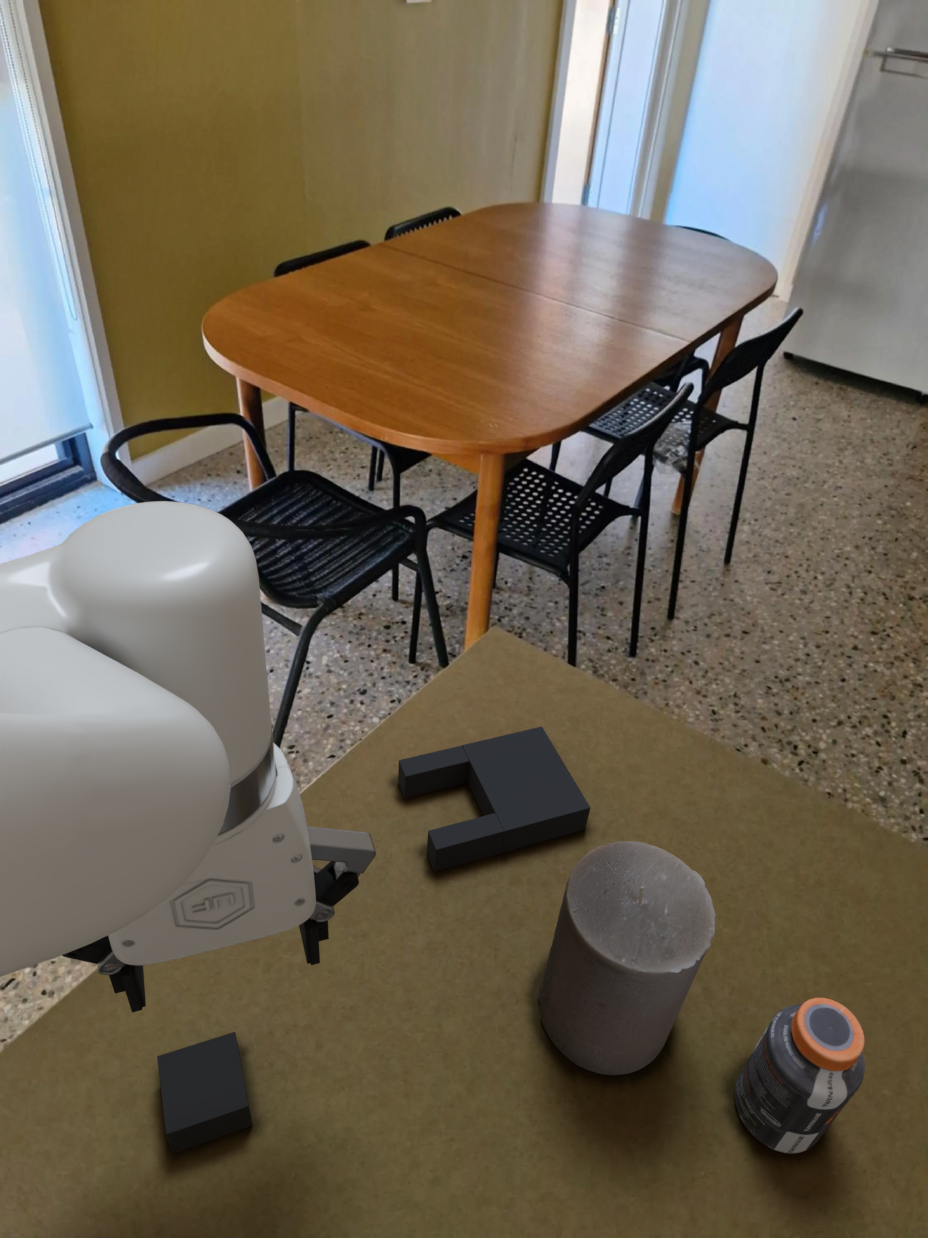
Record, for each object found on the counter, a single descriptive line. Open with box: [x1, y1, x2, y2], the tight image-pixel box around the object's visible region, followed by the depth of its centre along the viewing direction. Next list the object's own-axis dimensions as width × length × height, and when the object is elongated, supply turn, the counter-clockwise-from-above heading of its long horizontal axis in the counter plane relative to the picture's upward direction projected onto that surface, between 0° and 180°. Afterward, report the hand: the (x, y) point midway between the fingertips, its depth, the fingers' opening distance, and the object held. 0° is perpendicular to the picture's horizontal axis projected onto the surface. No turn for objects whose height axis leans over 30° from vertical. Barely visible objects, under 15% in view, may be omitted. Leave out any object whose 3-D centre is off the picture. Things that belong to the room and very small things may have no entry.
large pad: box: [397, 726, 591, 872], centre depth 78 cm, size 14×10×3 cm
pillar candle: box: [537, 840, 717, 1076], centre depth 60 cm, size 10×10×15 cm
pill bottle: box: [734, 997, 866, 1154], centre depth 57 cm, size 6×6×11 cm
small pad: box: [156, 1031, 254, 1154], centre depth 57 cm, size 5×5×3 cm
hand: (225, 964), depth 51 cm, fingers open, 9 cm apart
